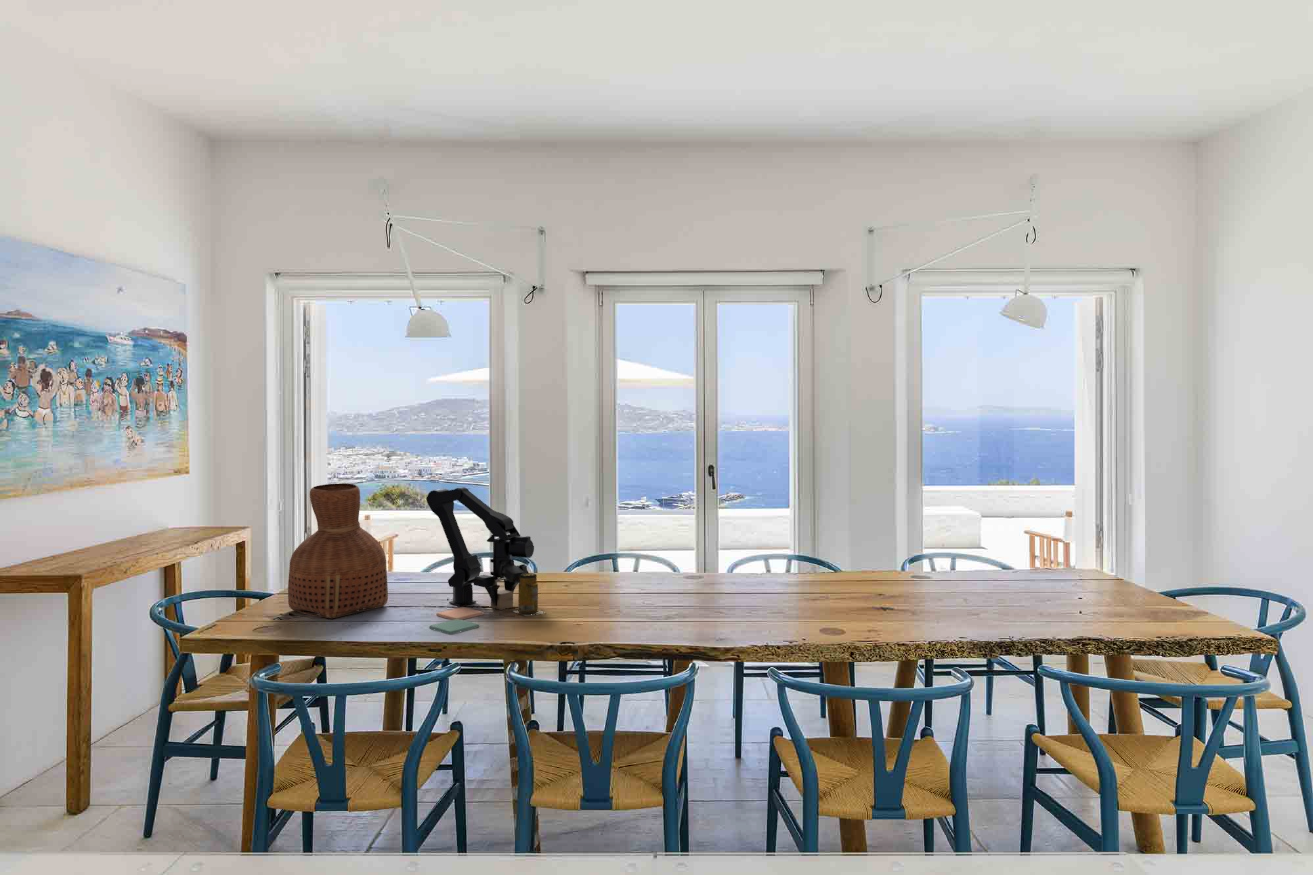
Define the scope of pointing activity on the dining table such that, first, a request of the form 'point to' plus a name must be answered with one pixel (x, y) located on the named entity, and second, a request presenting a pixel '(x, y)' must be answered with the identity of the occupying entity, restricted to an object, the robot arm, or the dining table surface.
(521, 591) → the condiment
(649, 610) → the dining table surface
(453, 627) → the mat green
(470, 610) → the mat terracotta
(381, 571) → the basket
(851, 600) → the dining table surface
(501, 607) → the brown cube
